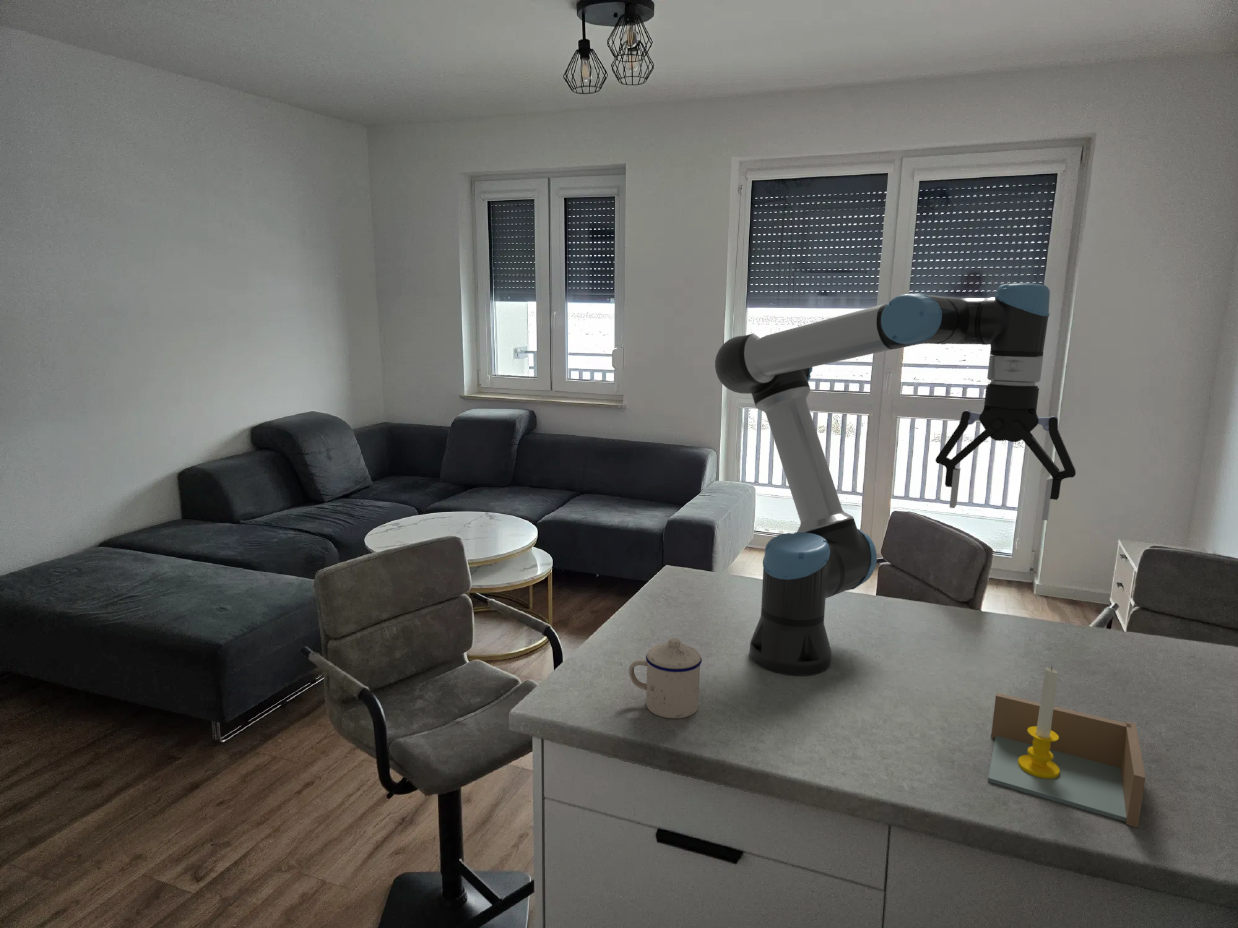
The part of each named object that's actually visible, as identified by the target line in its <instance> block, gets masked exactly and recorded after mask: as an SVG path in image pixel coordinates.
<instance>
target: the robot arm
mask: <svg viewBox="0 0 1238 928" xmlns="http://www.w3.org/2000/svg"><path fill="white" fill-rule="evenodd" d="M995 293H996V294H995V295H994V297H993V296H992V297H986V298H983V297H982V298H981V297H979V298H978V297H977V298H976V297H975V298H974V297H973V298H972V297H967V298H965V297H951V296H939V295H929V294H924V293H918V292H912V293H908V294H907V293H905V294H900V295H898V296H897V295H896V296H895V297H894V298H892V299H891V300H890V301H889V302H887V303H883V304H879V305H875V306H871V307H868V308H864V309H861V310H856V311H853V312H850V313H846V314H841V315H838V316H834V317H830V318H826V319H823V320H819V321H816V322H811V323H808V324H804V325H801V326H797V327H793V328H789V329H786V330H782V331H778V332H774V333H771V334H765V333H763V332H753V333H749V334H744V335H739V336H734V337H732V338H730V339H728V340H726V341H725V342H724V343H723V344H722V345H721V346H720V347H719V348H718V352H717V353H716V356H715V360H714V369H715V372H716V373H715V374H716V377H717V379H718V380H719V381H720V383H721V384H722V385H723V386H724V388H727V390H729V391H731V392H733V393H738V394H744V395H745V394H749V395H750V394H751V396H752V399H753V402H754V406H755V408H756V409H758V410H760V411H761V412H763V413H765V416H766V419H767V423H768V425H769V428H770V431H771V434H772V438H773V441H774V444H775V446H776V450H777V453H778V456H779V459H780V463H781V465H782V468H783V472H784V475H785V478H786V481H787V484H788V487H789V490H790V493H791V495H792V497H791V498H792V499H793V503H794V506H795V509H796V512H797V515H798V518H799V521H800V525H799V527H798V529H797V531H796V532H794V533H791V532H787V533H782V534H778V535H775V536H774V537H772V538H771V539H769V541H768V542H767V544H766V546H765V548H764V556H763V558H762V567H763V568H762V572H763V573H762V589H761V590H762V591H761V608H760V617H759V620H758V622H757V625H756V627H755V629H754V632H753V634H752V637H751V640H750V642H749V657H750V658H751V660H752V662H754V663H755V664H756V665H758V666H760V667H761V668H763V669H766V670H768V671H771V672H774V673H778V674H784V675H788V676H789V675H790V676H809V675H817V674H820V673H822V672H825V671H826V670H828V669H829V667H831V661H832V649H831V646H830V642H829V637H828V634H827V630H826V626H825V610H826V600H827V599H829V598H830V597H833V596H835V595H839V594H841V593H844V592H847V591H852V590H855V589H856V588H858V587H860V586H861V585H863V584H864V583H866V582H867V581H868V580H869V579H870V578H871V577H872V575H873V574H874V572H875V570H876V567H877V562H878V554H877V549H876V546H875V543H874V542H873V540H872V538H871V537H870V536H869V535H868V534H867V533H864V531H863V530H861V529H859V528H858V527H857V525H856V521H855V518H854V516H853V515H851V514H848V513H847V512H846V511H844V509H843V508H842V507H843V506H842V504H841V501H840V499H839V495H838V493H837V489H836V486H835V483H834V480H833V478H832V475H831V471H830V467H829V465H828V462H827V459H826V456H825V453H824V450H823V447H822V444H821V441H820V438H819V434H818V432H817V430H816V426H815V422H814V420H813V417H812V413H811V411H810V408H809V405H808V402H807V397H808V396H809V394H810V392H811V391H812V390H811V386H810V384H809V382H810V379H811V377H812V375H811V374H812V372H813V368H814V367H818V366H823V365H828V364H831V363H837V362H841V361H846V360H849V359H854V358H859V357H865V356H869V355H874V354H876V353H877V354H878V353H881V352H886V351H891V350H897V349H901V348H907V347H912V346H916V345H922V344H923V345H925V344H926V345H927V344H930V345H932V344H935V345H985V346H987V345H990V351H989V360H988V369H987V375H986V376H987V377H986V378H987V380H988V381H990V382H989V383H988V384H987V385H986V387H985V395H984V403H983V405H984V406H983V409H982V412H981V413H980V412H975V411H971V410H970V409H965V410H963V412H962V413H961V417H960V421H959V424H958V425H957V427H956V428H955V430H954V431H953V432H952V434H951V436H950V437H949V438H948V440H947V441H946V443H945V445H944V446H943V447H942V449H941V450H940V452H939V453H938V455H937V456H936V457H935V462H936V464H940V465H941V466H943V467H945V470H946V471H945V480H944V485H945V487H946V488H951V489H950V497H949V508H950V509H951V508H952V509H955V508H956V507H957V504H958V496H959V495H958V493H959V487H960V486H959V485H960V477H961V476H960V475H961V467H957V465H958V464H959V463H960V462H962V461H963V460H964V459H965V458H967V457H968V456H969V455H970V454H971V453H972V452H973V451H974V450H976V448H977V447H979V446H980V445H982V444H983V442H985V441H986V440H987V439H988V438H991V439H992V440H994V442H995V441H996V442H997V441H998V442H1002V441H1003V442H1004V441H1008V442H1010V443H1017V442H1021V441H1023V442H1024V443H1025V445H1026V446H1027V447H1028V448H1029V449H1030V451H1031V452H1032V453H1033V455H1034V456H1035V457H1036V459H1038V460H1039V462H1040V463H1041V465H1042V466H1043V467H1044V468H1045V470H1046V471H1047V472H1048V473H1049V475H1050V476H1051V477H1050V476H1048V477H1047V478H1046V486H1045V494H1044V500H1043V501H1044V502H1043V508H1042V514H1041V515H1042V516H1041V520H1042V521H1048V520H1049V519H1048V518H1049V511H1050V504H1051V500H1056V501H1057V500H1058V499H1059V497H1060V493H1061V483H1062V481H1063V480H1064V479H1069V478H1071V479H1072V478H1074V477H1075V476H1076V473H1077V471H1076V467H1075V465H1074V464H1073V462H1072V461H1073V460H1072V459H1071V457H1070V454H1069V451H1068V450H1067V447H1066V445H1065V443H1064V440H1063V438H1062V436H1061V433H1060V431H1059V419H1058V416H1056V415H1051V416H1047V417H1046V416H1044V417H1043V416H1042V417H1041V416H1040V417H1039V416H1038V414H1037V409H1038V399H1039V394H1040V392H1039V391H1040V387H1039V386H1038V385H1036V383H1039V382H1041V379H1042V378H1041V377H1042V371H1043V370H1042V369H1043V363H1044V362H1043V361H1044V350H1045V343H1046V335H1047V327H1048V322H1049V317H1050V312H1049V311H1050V300H1051V299H1050V297H1051V291H1050V288H1049V287H1048V286H1047V285H1046V284H1041V283H1010V284H1007V283H1005V284H1001V285H999V286H998V287H997V289H996V292H995ZM976 421H979V422H980V423H981V426H982V427H983V428H984V430H983V431H982V432H981V433H979V435H977V436H976V437H975V438H974V439H972V440H971V442H969V443H968V444H967V445H966V446H965V447H963V448H962V449H961V450H960V451H959V452H958V453H957V454H956V455H954V456H952V458H949V457H948V456H949V455H950V453H951V452H952V451H953V449H954V448H955V446H956V445H957V443H958V442H959V440H960V439H961V437H962V436H963V435H964V433H965V431H966V430H967V429H968V428H969V425H973V424H974V423H975V422H976ZM1038 425H1041V426H1042V428H1043V430H1044V431H1046V432H1047V431H1048V435H1049V437H1050V439H1051V442H1052V444H1053V446H1054V448H1055V451H1056V453H1057V457H1058V458H1059V461H1060V463H1061V464H1062V465H1061V466H1062V467H1063V469H1060V468H1059V467H1058V466H1057V465H1056V463H1055V461H1053V459H1052V458H1051V457H1050V455H1048V453H1047V452H1046V451H1045V450H1044V448H1043V447H1042V446H1041V444H1040V443H1039V442H1038V441H1037V439H1036V438H1035V436H1034V435H1033V434H1032V431H1033V430H1034V429H1035V428H1036V427H1037V426H1038Z"/></svg>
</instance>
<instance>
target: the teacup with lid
mask: <svg viewBox="0 0 1238 928" xmlns="http://www.w3.org/2000/svg"><path fill="white" fill-rule="evenodd" d="M702 662H703V660H702V656H701V653H700V652H699V651H698V650H697V649H696V648H694V647H692V646H690V645H687V644H683V643H681V640H680V639H679V638H677V637H672V638H669V639H668V640H667V642H666V643H662V644H661V643H660V644H657V645H654V646H652V647H651V648H649V649H648V651H647V652H646V655H645V659H642V658H640V659H636V660H634V661H633V662H631V663H630V665H629V668H628V674H629V678H630V681H631V682H632V684H633V685H634V686H635V687H636V688H638V689H641V690H644V691H646V692H645V694H646V697H645V698H646V699H645V700H646V701H645V704H646V705H645V706H646V707H647V709H648V710H649V711H650V712H651V713H652V714H655V715H656V716H659V717H661V718H667V719H683V718H687V717H691V716H692V715H693V714H695V713H696V712H697V711H698V709H699V701H700V700H699V697H700V696H699V695H700V677H701V675H700V674H701V673H700V671H701V664H702ZM637 666H644V667H646V683H644V682H641V681H640V680H639V679H638V678H637V676H636V674H635V667H637Z"/></svg>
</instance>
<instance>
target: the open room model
mask: <svg viewBox="0 0 1238 928" xmlns="http://www.w3.org/2000/svg"><path fill="white" fill-rule="evenodd" d="M993 709H994V710H993V716H992V717H993V718H992V726H991V735H990V738H991V739H993V740H994V743H993V747H992V753H991V759H990V765H989V770H988V777H987V782H988V783H992V784H995V785H999V786H1001V787H1006V788H1008V789H1011V790H1015V791H1019V792H1022V793H1026V794H1029V795H1032V796H1035V797H1039V798H1043V799H1047V800H1050V801H1053V802H1056V803H1060V804H1063V805H1067V806H1070V807H1073V808H1077V809H1080V810H1083V811H1087V812H1091V813H1094V814H1096V815H1097V814H1098V815H1101V816H1105V817H1107V818H1111V819H1115V820H1118V821H1122V822H1125V825H1126V826H1129V827H1130V826H1131V827H1133V828H1139V821H1140V815H1141V808H1142V803H1143V795H1144V790H1145V784H1146V773H1145V768H1144V767H1145V766H1144V762H1143V756H1142V750H1141V746H1140V739H1139V736H1138V735H1139V734H1138V729H1137V723H1134V722H1131V721H1127V720H1126V721H1125V722H1123V721H1119V720H1114V719H1110V718H1107V717H1101V716H1097V715H1093V714H1090V713H1089V714H1088V713H1084V712H1081V711H1080V712H1079V711H1077V710H1073V709H1068V708H1063V707H1059V706H1055V705H1054V708H1053V716H1052V724H1051V730H1052V731H1053V732H1055V733H1056V734H1057V735H1058V736H1059V739H1058V740H1057V741H1052V742H1051V743H1050V745H1051V747H1050V750H1049V751H1050V752H1051V753H1052V754H1053V760H1051V761H1052V762H1054V763H1055V764H1056V765H1057V766H1058V767H1059V769H1060V774H1059V776H1058V777H1056V778H1052V779H1046V778H1040V777H1036V776H1033V775H1031V774H1029V773H1027V772H1025V771H1024V770H1023V769H1022V768H1020V766H1019V765H1018V759H1019V757H1020V756H1022V755H1029V754H1028V752H1027V750H1028V748H1029V747H1032V746H1033V740H1034V738H1033V736H1031V735H1030V734H1029V733H1028V731H1027V729H1028V728H1029V727H1032V726H1037V723H1038V716H1039V709H1040V702H1038V701H1034V700H1030V699H1025V698H1021V697H1017V696H1012V695H1008V694H1004V693H1000V692H995V700H994V707H993Z"/></svg>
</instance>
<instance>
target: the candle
mask: <svg viewBox="0 0 1238 928" xmlns="http://www.w3.org/2000/svg"><path fill="white" fill-rule="evenodd" d="M1057 682H1058V672H1057V671H1056V670H1055V669H1053V666H1051V668H1050V667H1045V671H1044V676H1043V682H1042V687H1041V688H1042V690H1041V694H1040V695H1041V697H1040V702H1039V703H1040V709H1039V716H1038V723H1037V726H1032V727H1029V728H1028V729H1027V731H1028V733H1029V734H1030V735H1031V736H1033V738H1034V740H1033V746H1032V747H1029V748H1028V750H1027V752H1028V754H1029V755H1022V756H1020V757H1019V759H1018V765H1019V766H1020V768H1022V769H1023V770H1024V771H1025V772H1027V773H1029V774H1031V775H1033V776H1036V777H1040V778H1046V779H1052V778H1056V777H1058V776H1059V774H1060V769H1059V767H1058V766H1057V765H1056V764H1055V763H1054V762H1052V761H1051V760H1053V754H1052V753H1051V752H1050V751H1049V750H1050V747H1051V745H1050V743H1051V742H1052V741H1057V740H1058V739H1059V736H1058V735H1057V734H1056V733H1055V732H1053V731H1052V730H1051V724H1052V716H1053V708H1054V706H1055V699H1056V692H1057Z"/></svg>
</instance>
